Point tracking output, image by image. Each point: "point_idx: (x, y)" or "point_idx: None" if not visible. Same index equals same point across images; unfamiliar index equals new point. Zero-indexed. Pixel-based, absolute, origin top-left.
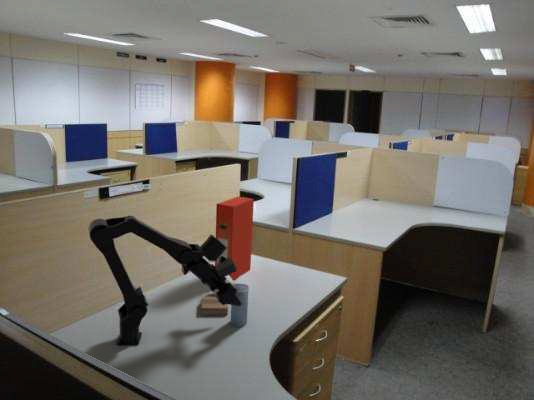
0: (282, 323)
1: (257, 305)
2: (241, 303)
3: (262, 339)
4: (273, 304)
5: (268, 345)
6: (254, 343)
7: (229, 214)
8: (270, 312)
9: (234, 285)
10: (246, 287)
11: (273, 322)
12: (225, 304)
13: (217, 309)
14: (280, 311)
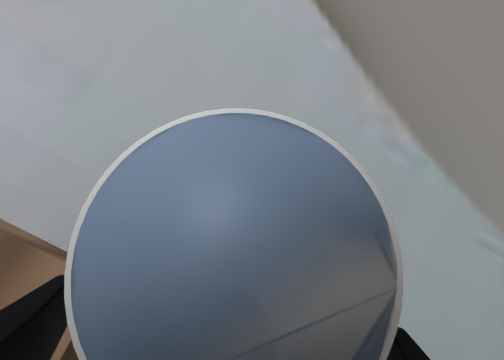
0: (332, 73)
1: (119, 79)
2: (408, 336)
3: (437, 233)
4: (153, 12)
5: (495, 235)
6: (462, 292)
7: None
8: (216, 64)
9: (119, 342)
10: (300, 167)
11: (308, 102)
12: (45, 271)
13: (66, 355)
14: (229, 22)
